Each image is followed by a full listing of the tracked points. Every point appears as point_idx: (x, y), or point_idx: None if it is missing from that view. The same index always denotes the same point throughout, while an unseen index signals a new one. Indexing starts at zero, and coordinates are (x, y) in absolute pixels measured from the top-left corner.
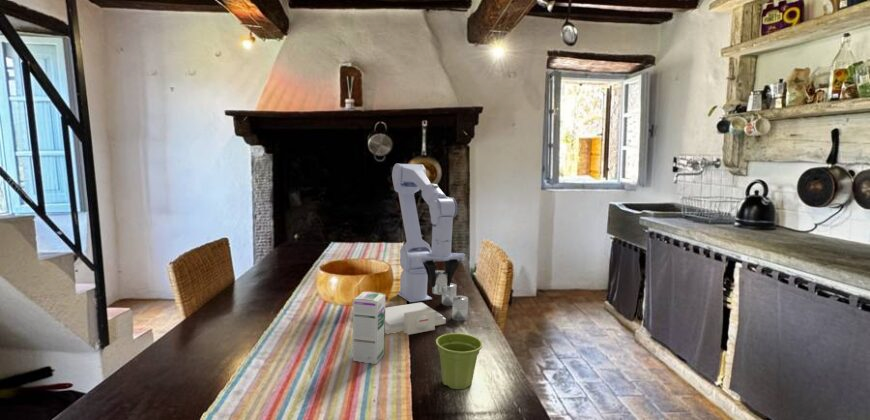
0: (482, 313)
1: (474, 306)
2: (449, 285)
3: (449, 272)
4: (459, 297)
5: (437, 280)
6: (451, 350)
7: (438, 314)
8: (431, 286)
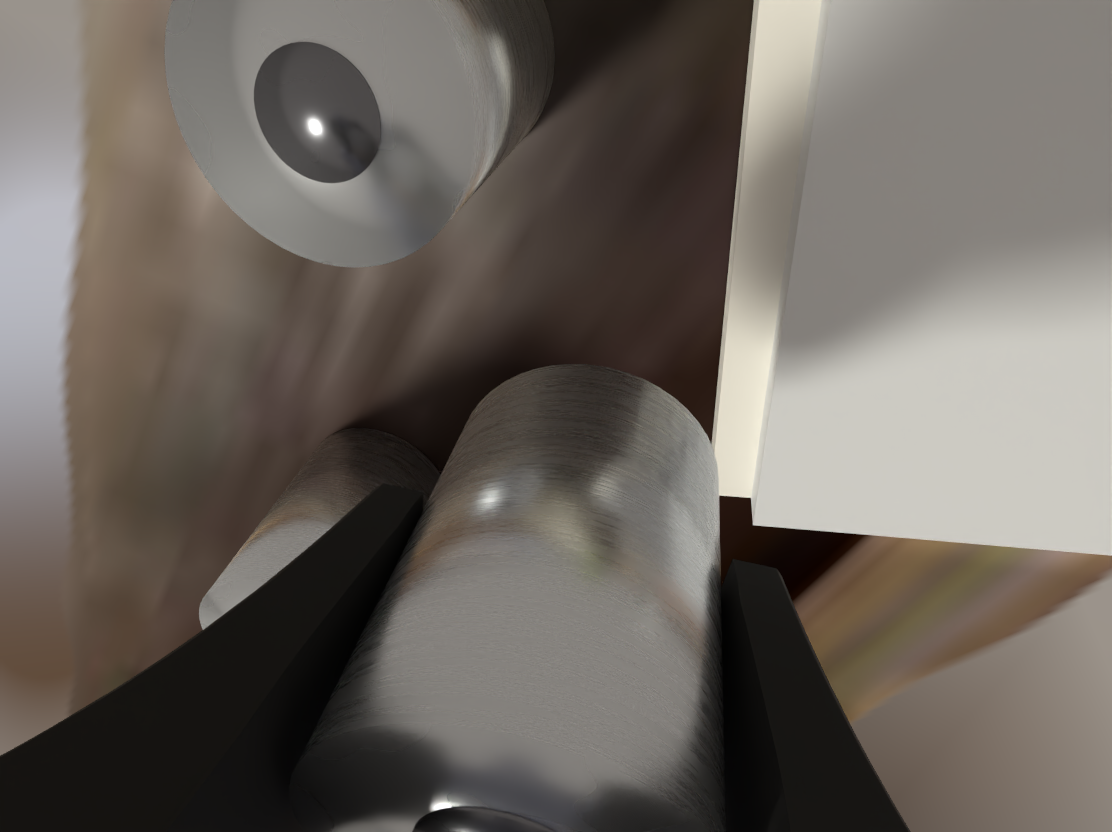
0: (99, 84)
1: (144, 318)
2: (385, 487)
3: (254, 757)
4: (332, 146)
5: (689, 637)
6: None
7: (880, 3)
8: (783, 582)
